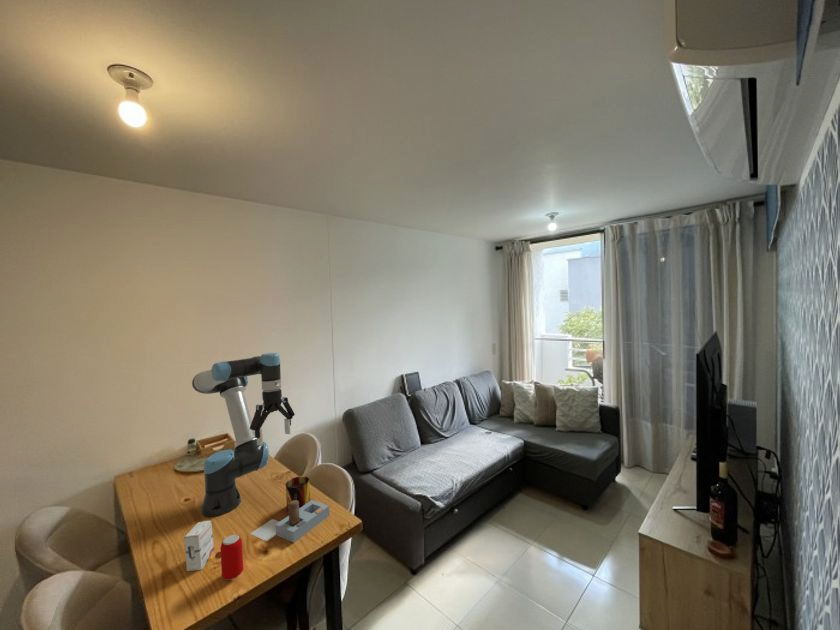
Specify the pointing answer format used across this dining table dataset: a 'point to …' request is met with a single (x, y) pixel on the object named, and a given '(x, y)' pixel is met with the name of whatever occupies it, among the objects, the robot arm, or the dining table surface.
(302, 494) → the mug
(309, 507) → the socket block
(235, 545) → the beverage can
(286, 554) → the dining table surface
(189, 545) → the ink box
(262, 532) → the white flat square
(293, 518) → the plug
